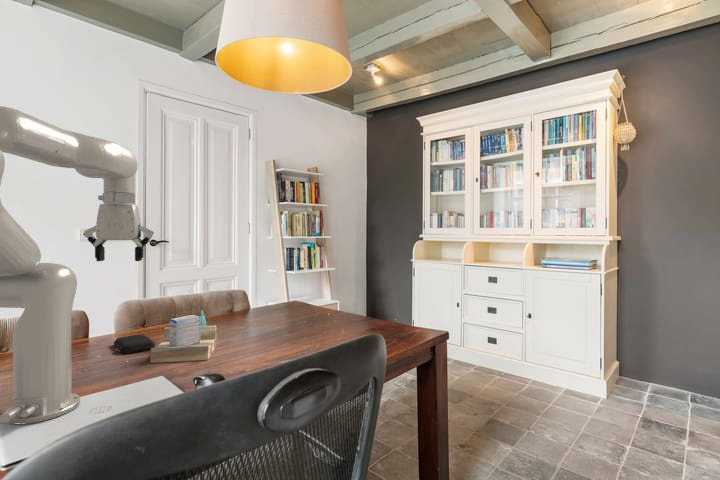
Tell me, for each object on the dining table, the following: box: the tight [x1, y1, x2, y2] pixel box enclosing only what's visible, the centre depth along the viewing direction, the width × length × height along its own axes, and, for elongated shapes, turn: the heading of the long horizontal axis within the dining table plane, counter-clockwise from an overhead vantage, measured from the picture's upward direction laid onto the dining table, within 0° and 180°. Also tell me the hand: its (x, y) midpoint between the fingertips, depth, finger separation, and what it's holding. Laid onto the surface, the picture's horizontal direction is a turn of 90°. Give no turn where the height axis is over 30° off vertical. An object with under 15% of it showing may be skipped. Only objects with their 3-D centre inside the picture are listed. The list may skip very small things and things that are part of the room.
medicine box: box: [169, 314, 200, 347], centre depth 118 cm, size 8×4×9 cm, turn 145°
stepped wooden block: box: [149, 325, 217, 364], centre depth 119 cm, size 14×16×7 cm
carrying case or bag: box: [113, 333, 156, 355], centre depth 125 cm, size 11×3×15 cm
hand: (119, 260), depth 105 cm, fingers open, 9 cm apart
